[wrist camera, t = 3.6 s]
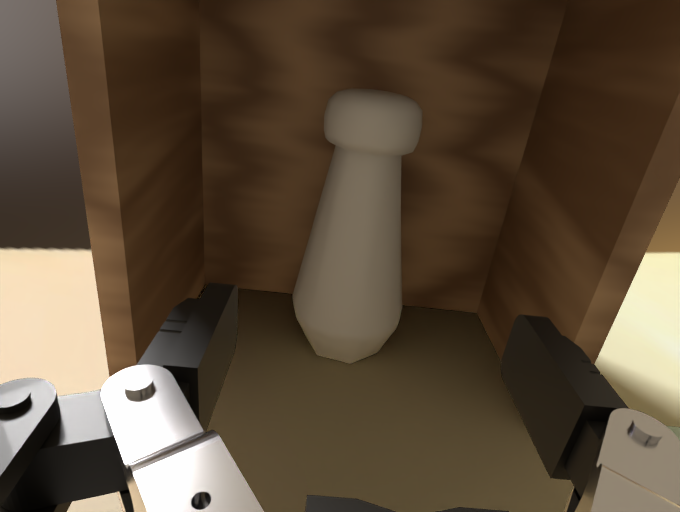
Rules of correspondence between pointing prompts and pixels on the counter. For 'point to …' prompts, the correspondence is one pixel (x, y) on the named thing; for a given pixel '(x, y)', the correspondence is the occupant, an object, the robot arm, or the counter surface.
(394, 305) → the salt shaker
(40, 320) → the counter surface
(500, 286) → the cubby
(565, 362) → the robot arm
